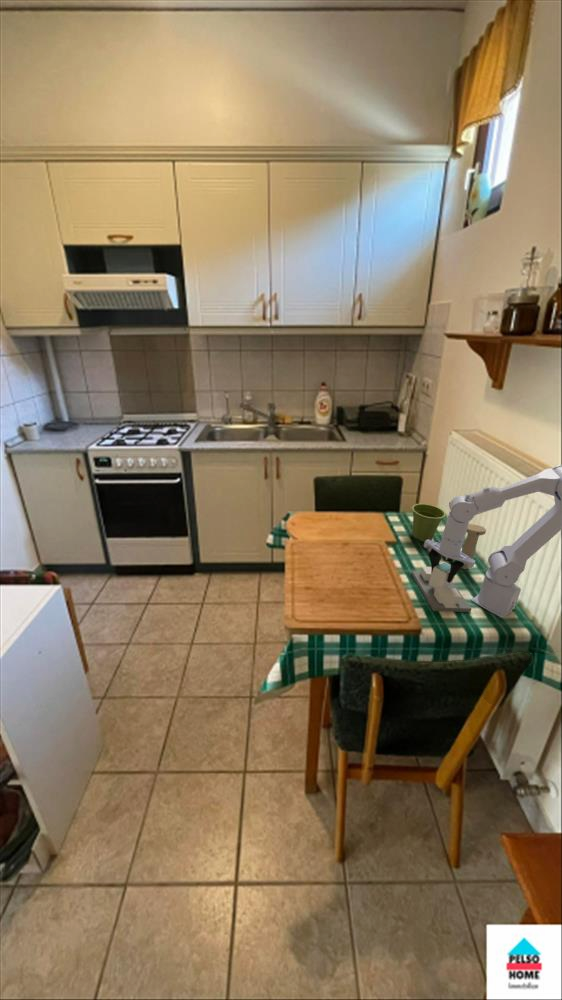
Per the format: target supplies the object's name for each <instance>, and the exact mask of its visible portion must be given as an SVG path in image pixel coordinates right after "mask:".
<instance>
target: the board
mask: <svg viewBox="0 0 562 1000" xmlns="http://www.w3.org/2000/svg"><path fill="white" fill-rule="evenodd" d="M431 575H432V574H431V566H424V565H423V566H421V568H420V570H412V571H411V576H412V577H413V580H414V581H415V583H416V584H417V586H418V587H419V590H420V591H421V593H422V594H423V596H424V597H425V600H426V601H427V603H428V604H429V606H430V608H431V609H432V611H433V612H457V613H459V612H460V613H461V612H462V613H471V612H472V607H471V606H470V604H469V603H468V602H467V600H466V599H465V597H464V596H463V594H462V593H461V591H459V589H458V588H457V586H456V585H455V583H454V582H453V581H452V582H451V585H449V586H448V587H446V588H434V587H432V586H430V585H429V582H430V578H431Z"/></svg>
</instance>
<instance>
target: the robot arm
mask: <svg viewBox="0 0 562 1000" xmlns="http://www.w3.org/2000/svg"><path fill="white" fill-rule="evenodd" d="M538 492H539V493H542V494H545V495H549V496H552V497H553V498H554V505H553V506H551V508H550V509H549V510H547V511H546V512H545V513H544V514H543V515H541V517H540V518H539V519H538V520H537V521H535V522H534V524H533V525H531V526H530V527H529V528H528V529H527V530H526V531H524V533H522V535H521V536H519V537H518V538H517V540H515V541H514V542H513V543H512V544H511V545H505V546H503V547H501V548H500V549H499V550H496V551H493V552H492V553H490V555H489V556H488V560H487V562H488V565H489V568H488V570H487V571H486V572H485V575H484V577H483V581H482V584H481V586H480V590H479V592H478V594H477V595H476V596H475V597H473V598H472V599H471V602H473V603H474V604H476V605H478V606H480V607H482V608H483V609H485V610H487V611H488V612H491V614H494V615H495V616H498V617H499V618H501V619H504V618H505V617H507V616H508V615H509V614H510V613H511V612H513V611H514V610H516V609H515V607H516V604H517V602H518V600H519V596H520V594H521V587H519V586H518V585H516V583H517V582H518V580H519V577H520V576H521V574H523V572H524V571H525V569H526V565H527V561H528V560H529V559H530V558H531V557H532V556H533V555H534V554H535V553H537V552H538V551H539V550H541V548H543V547H544V546H545V545H546V544H547V543H548V542H550V541H551V539H553V537H555V536H556V535H557V534H558V533H559V532H560V531H562V530H561V529H562V464H559V465H555V466H554V467H552V468H551V467H549V468H545V469H543V470H542V471H540V472H538V473H537V474H534V475H531V476H529V477H526V478H524V479H520V480H518V481H517V482H514V483H511V484H509V485H507V486H506V485H505V486H504V487H503V486H502V487H501V488H499V487H496V486H490V487H489V486H488V485H487V486H484V487H483V488H482V490H479V491H476V492H473V493H466V494H465V495H464V496H463V495H456V496H454V497H453V498H452V499H451V500H450V501H449V503H448V507H449V509H450V510H449V513H448V516H447V519H446V522H445V525H444V528H443V529H444V530H443V533H442V536H441V539H440V542H437V541H433V540H429V539H428V540H426V541H424V543H423V547H424V548H425V549H430V551H429V552H428V557H429V560H430V567H431V574H432V572H433V568H434V567H435V566H437V565H439V564H440V563H441V559H442V558H443V556H445V557H448V558H451V559H452V560H454V561H453V562H451V564H450V565H451V569H450V574H449V577H448V580H447V582H448V583H450V582H451V581H452V582H453V580H454V579H455V576H456V575H458V574H457V573H458V572H459V571H460V570H461V569H462V567H463V566H464V565H467V567H468V569H472V568H474V566H475V563H476V560H475V559H474V558H473V559H471V558H470V557H468V556H467V555H465V554H464V553H462V552H461V551H462V548H463V546H464V542H465V539H466V536H467V532H466V531H467V528H468V524H469V522H470V521H472V520H473V519H474V517H475V516H477V515H479V514H482V513H486V512H488V511H492V510H496V509H498V508H501V507H503V505H504V503H505V502H506V501H508V500H509V501H510V500H513V499H516V498H520V497H524V496H528V495H531V494H535V493H538ZM513 609H514V610H513ZM512 610H513V611H512Z"/></svg>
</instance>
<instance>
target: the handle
mask: <svg viewBox="0 0 562 1000" xmlns="http://www.w3.org/2000/svg"><path fill="white" fill-rule="evenodd" d="M486 532H487V529H486V528H485V527H484V526H482V525H479V524H478V525H477V524H473V523H472V524H471V523H470V524H469V523H468V528H467V531H466V537H465V539H464V542H463V545H462V548H461V552H462V553H464V554H465V555H467V556H468V557H470V558H471V559H473V560H474V557H475V554H476V553H475V552H476V549H477V545H478V540H479V537H480V536H483V535H486ZM461 569H463V570H468V569H469V568H468V567H467V565H464V566H463V567H462V568H461Z"/></svg>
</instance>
